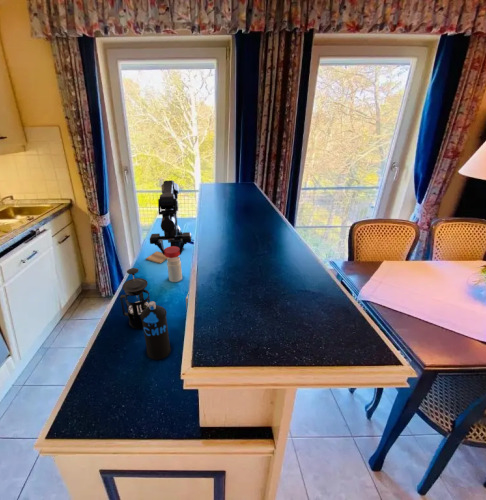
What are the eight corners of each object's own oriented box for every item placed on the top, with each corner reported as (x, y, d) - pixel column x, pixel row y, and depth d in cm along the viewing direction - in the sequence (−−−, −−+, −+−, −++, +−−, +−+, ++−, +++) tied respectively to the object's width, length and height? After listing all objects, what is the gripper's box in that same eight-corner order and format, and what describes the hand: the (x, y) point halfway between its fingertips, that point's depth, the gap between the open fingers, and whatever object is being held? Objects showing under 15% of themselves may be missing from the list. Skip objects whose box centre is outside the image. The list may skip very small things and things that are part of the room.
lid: (174, 259, 127) (174, 254, 126) (161, 255, 130) (160, 251, 129) (183, 252, 133) (183, 247, 132) (170, 249, 136) (170, 245, 135)
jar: (173, 273, 141) (171, 254, 136) (184, 276, 138) (183, 257, 133) (166, 280, 135) (163, 260, 131) (177, 283, 132) (175, 263, 128)
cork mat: (156, 252, 163) (156, 251, 163) (171, 255, 158) (170, 254, 158) (145, 259, 155) (145, 258, 155) (160, 263, 151) (160, 262, 150)
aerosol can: (147, 342, 99) (140, 296, 90) (171, 340, 99) (165, 294, 90) (145, 361, 91) (136, 312, 82) (170, 358, 92) (164, 310, 83)
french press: (157, 313, 113) (150, 263, 103) (152, 329, 105) (144, 277, 95) (128, 313, 114) (119, 263, 104) (121, 329, 105) (110, 277, 95)
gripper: (190, 216, 132) (192, 246, 139) (151, 218, 132) (155, 247, 139) (190, 225, 122) (192, 256, 129) (147, 227, 122) (151, 258, 129)
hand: (172, 254), depth 132 cm, fingers closed on lid, 7 cm apart
